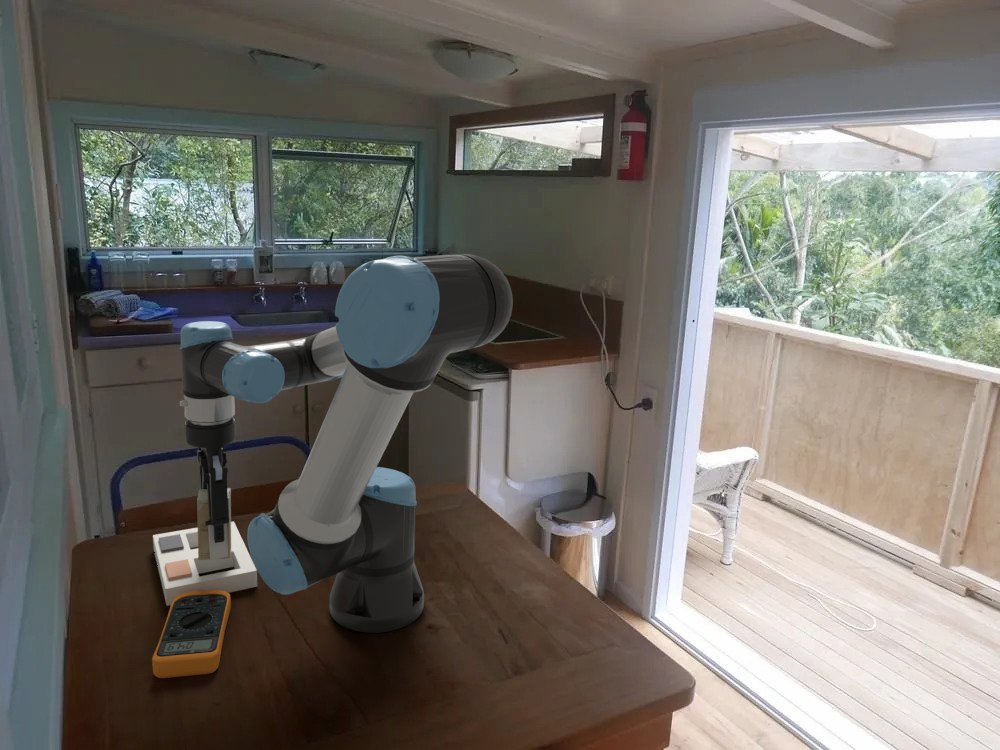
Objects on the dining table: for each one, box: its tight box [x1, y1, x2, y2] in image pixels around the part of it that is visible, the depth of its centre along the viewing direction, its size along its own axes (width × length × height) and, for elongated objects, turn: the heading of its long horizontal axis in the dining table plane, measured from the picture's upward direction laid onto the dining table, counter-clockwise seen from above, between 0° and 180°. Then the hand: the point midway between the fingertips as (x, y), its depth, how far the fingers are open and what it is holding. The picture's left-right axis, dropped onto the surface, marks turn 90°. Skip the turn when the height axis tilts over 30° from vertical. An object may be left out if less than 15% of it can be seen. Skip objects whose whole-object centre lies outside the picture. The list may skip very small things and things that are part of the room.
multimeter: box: [151, 590, 232, 679], centre depth 109 cm, size 9×18×3 cm, turn 13°
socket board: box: [152, 521, 258, 607], centre depth 128 cm, size 20×14×4 cm
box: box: [196, 487, 232, 560], centre depth 123 cm, size 5×4×11 cm
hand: (215, 549), depth 124 cm, fingers closed on box, 5 cm apart
